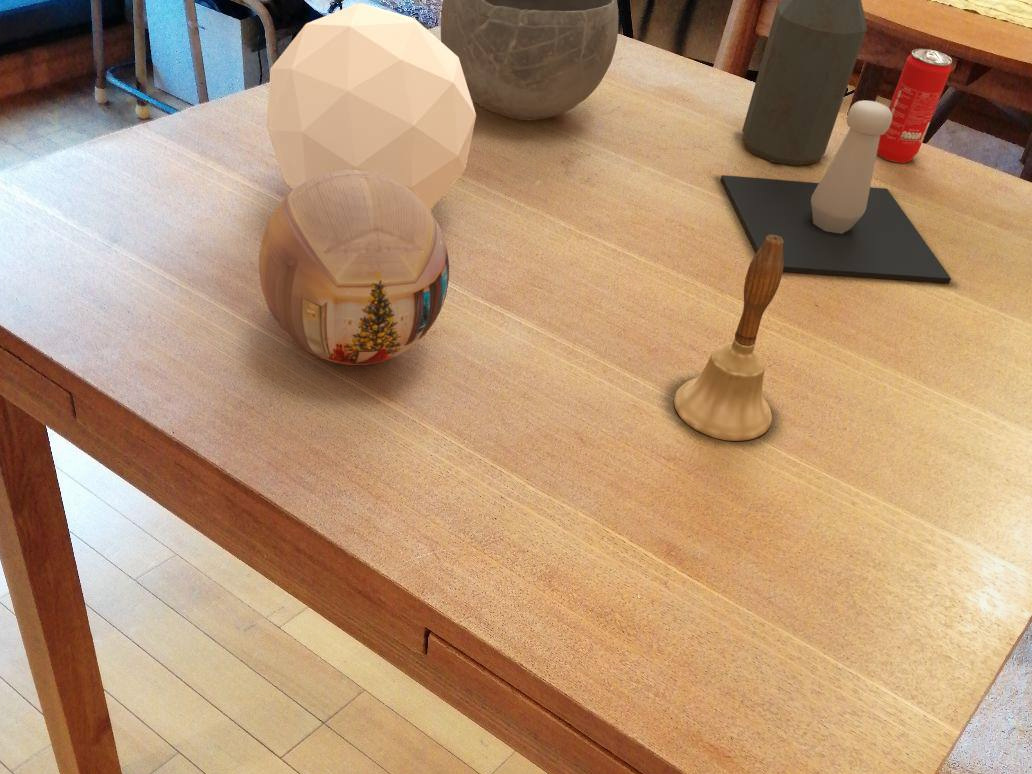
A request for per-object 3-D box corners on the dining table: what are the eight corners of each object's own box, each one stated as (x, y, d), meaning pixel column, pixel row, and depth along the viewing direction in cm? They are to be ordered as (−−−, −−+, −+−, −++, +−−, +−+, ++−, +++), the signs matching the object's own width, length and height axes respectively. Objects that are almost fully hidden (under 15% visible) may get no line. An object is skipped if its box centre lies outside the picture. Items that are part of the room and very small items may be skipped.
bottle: (784, 126, 138) (868, -146, 117) (839, 160, 132) (937, -120, 112) (723, 136, 133) (799, -145, 113) (777, 172, 128) (867, -118, 107)
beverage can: (873, 158, 134) (910, 59, 126) (872, 142, 138) (908, 44, 129) (915, 167, 134) (955, 68, 125) (913, 151, 137) (952, 53, 129)
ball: (404, 292, 112) (473, 203, 94) (218, 204, 106) (252, 91, 88) (459, 142, 117) (533, 31, 99) (284, 51, 112) (329, -86, 93)
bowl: (440, 66, 139) (451, -64, 129) (598, 87, 140) (622, -39, 130) (427, 132, 124) (438, -8, 114) (604, 156, 125) (631, 19, 115)
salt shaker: (794, 212, 119) (834, 94, 110) (837, 209, 121) (880, 92, 112) (823, 239, 115) (867, 118, 106) (867, 235, 117) (914, 116, 108)
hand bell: (726, 453, 87) (786, 278, 76) (653, 399, 92) (700, 226, 81) (791, 421, 92) (856, 250, 81) (718, 370, 96) (771, 202, 85)
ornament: (395, 423, 85) (407, 250, 75) (226, 366, 88) (216, 191, 78) (467, 332, 96) (487, 169, 85) (315, 283, 98) (316, 120, 88)
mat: (885, 193, 127) (887, 188, 127) (949, 283, 113) (951, 278, 112) (720, 179, 124) (721, 174, 124) (764, 270, 110) (766, 265, 110)
